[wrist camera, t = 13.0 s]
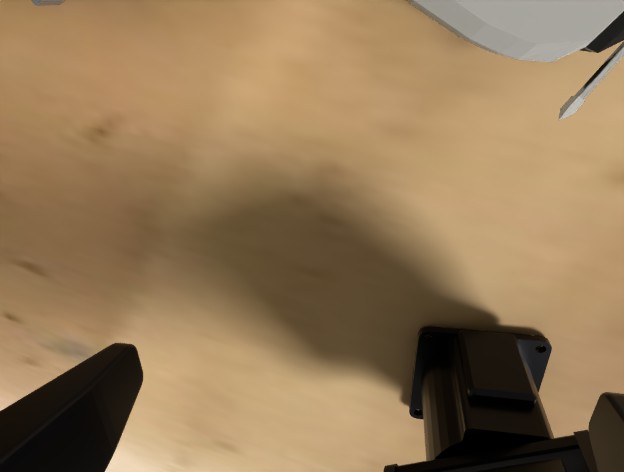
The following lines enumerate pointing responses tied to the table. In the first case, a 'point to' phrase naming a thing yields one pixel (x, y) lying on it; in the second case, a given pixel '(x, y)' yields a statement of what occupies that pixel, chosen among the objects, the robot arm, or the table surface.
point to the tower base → (47, 2)
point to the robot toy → (536, 30)
